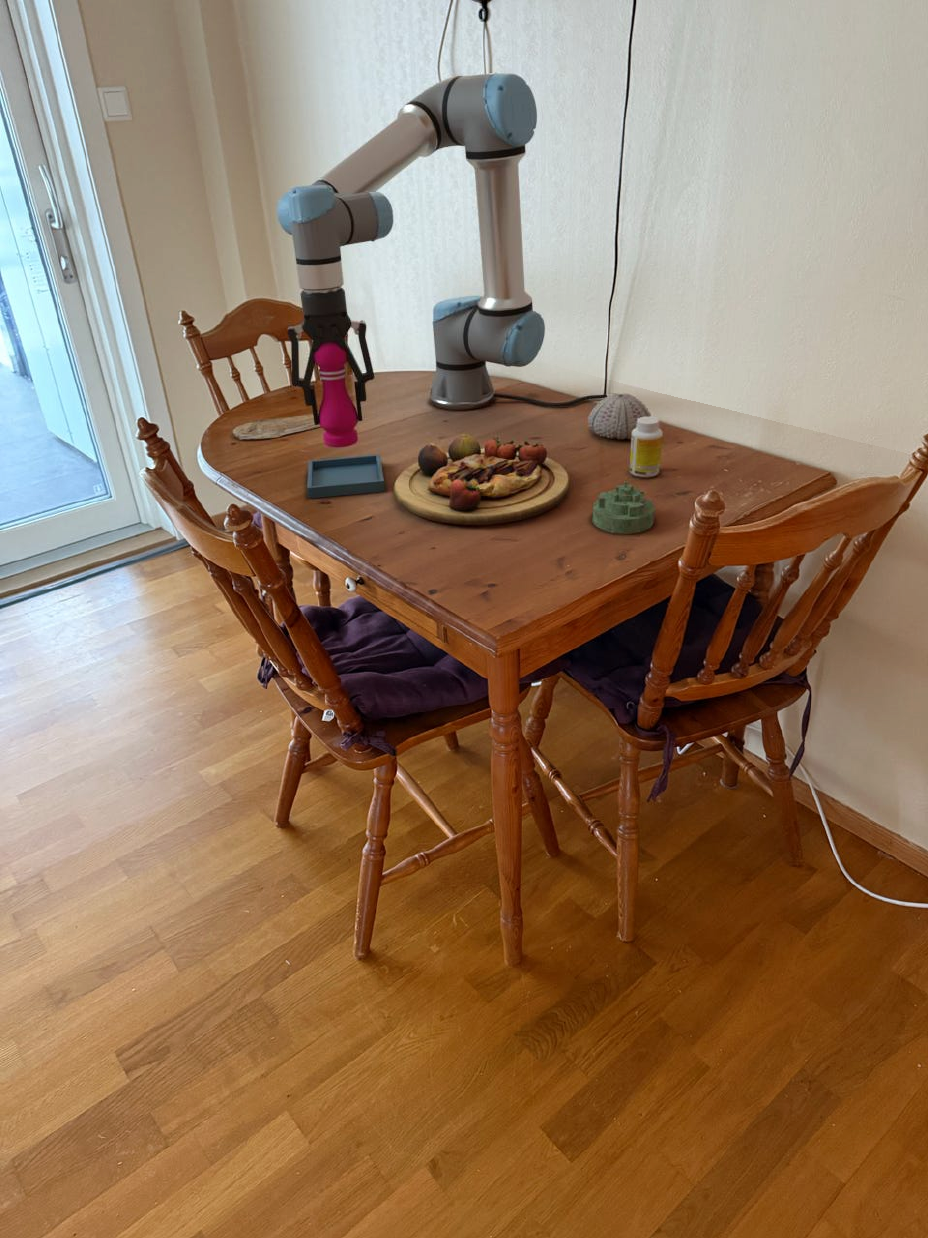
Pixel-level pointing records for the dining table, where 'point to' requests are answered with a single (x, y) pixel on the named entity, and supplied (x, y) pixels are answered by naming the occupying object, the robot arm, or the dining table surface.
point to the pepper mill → (335, 398)
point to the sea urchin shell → (617, 416)
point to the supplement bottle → (646, 448)
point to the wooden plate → (481, 482)
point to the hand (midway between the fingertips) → (338, 420)
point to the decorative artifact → (623, 511)
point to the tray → (345, 476)
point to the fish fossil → (274, 427)
